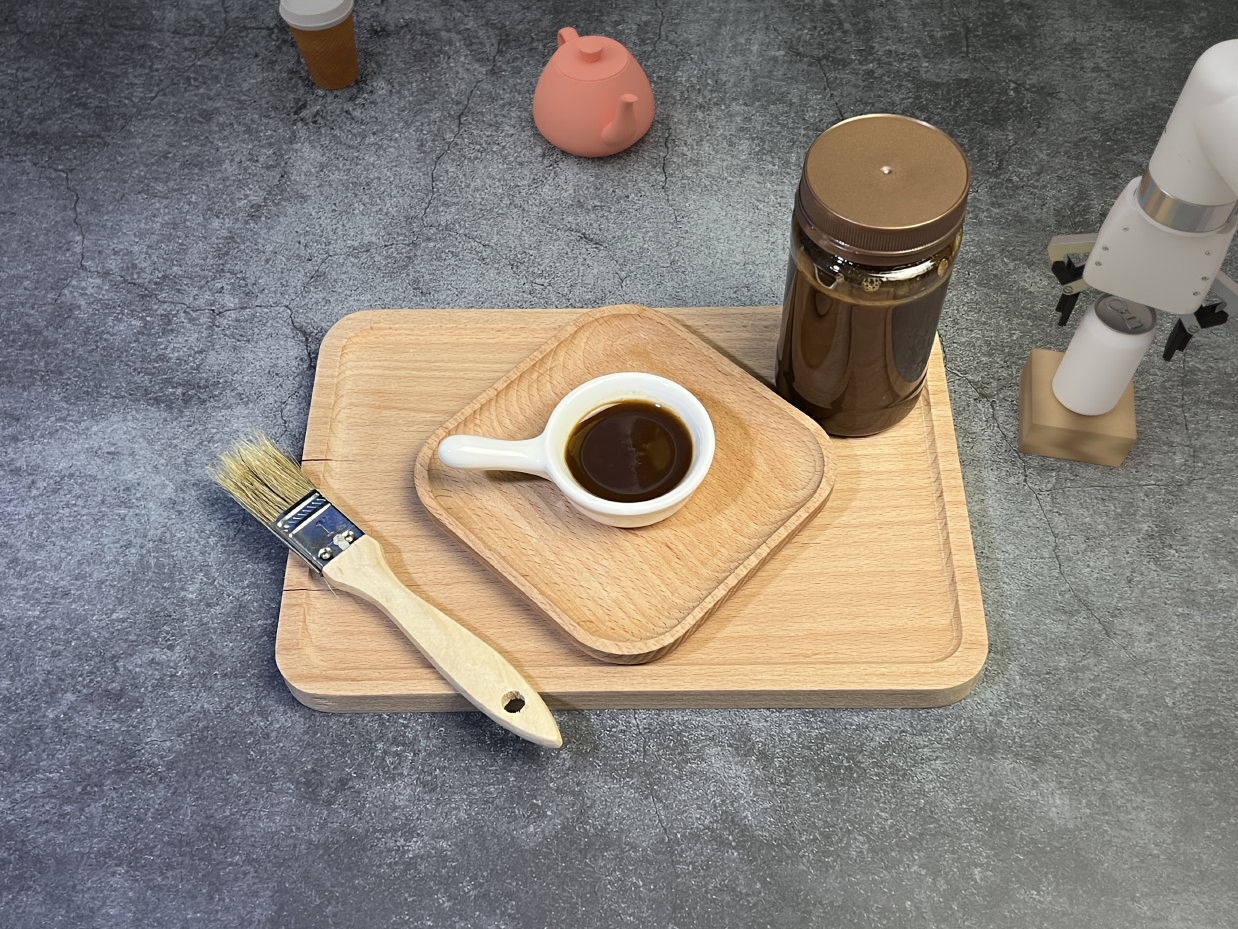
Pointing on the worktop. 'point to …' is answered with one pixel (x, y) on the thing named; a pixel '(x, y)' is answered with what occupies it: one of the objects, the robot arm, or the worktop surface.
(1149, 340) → the can
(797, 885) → the worktop surface
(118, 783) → the worktop surface
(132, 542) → the worktop surface
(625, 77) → the teapot
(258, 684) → the worktop surface
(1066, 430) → the block
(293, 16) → the disposable coffee cup
